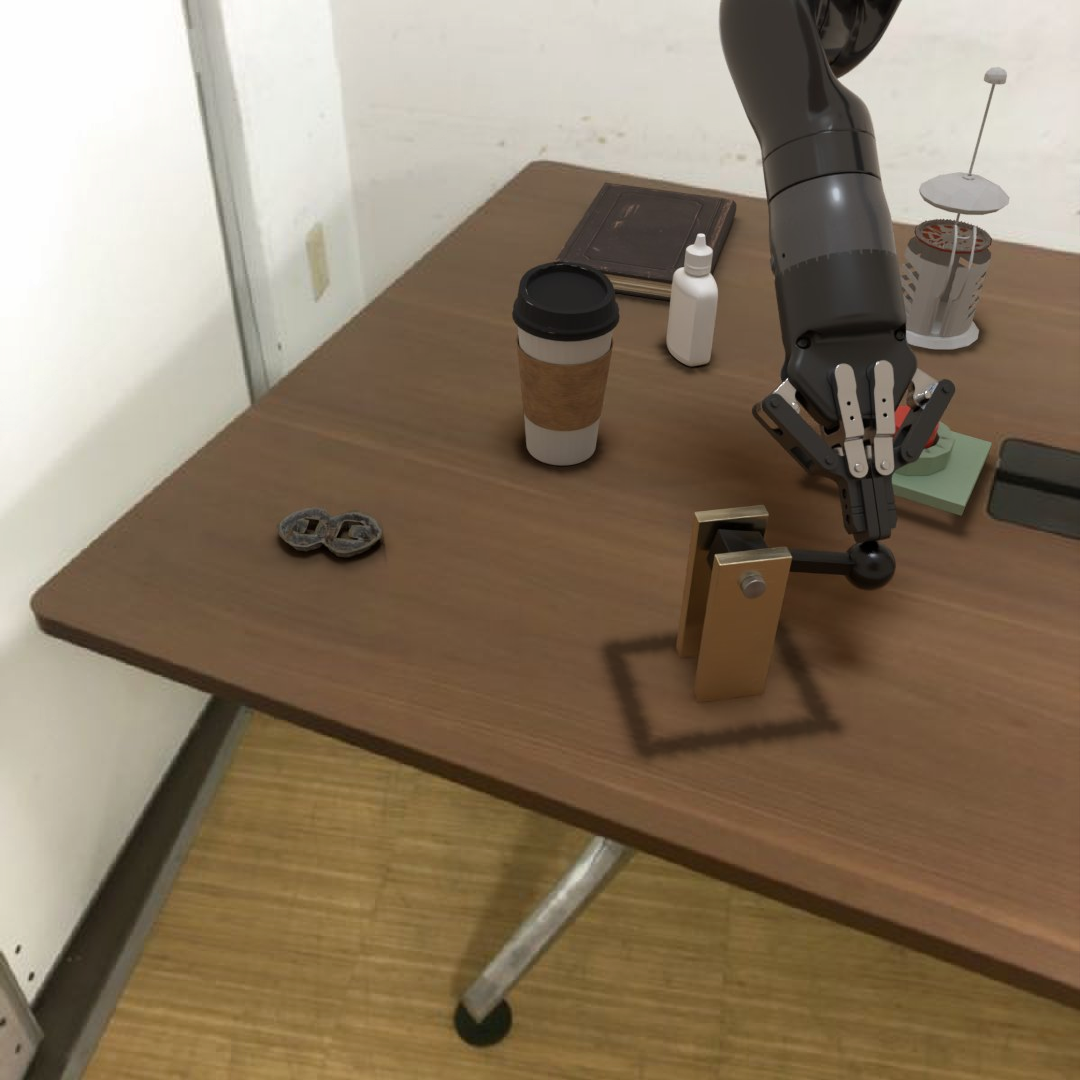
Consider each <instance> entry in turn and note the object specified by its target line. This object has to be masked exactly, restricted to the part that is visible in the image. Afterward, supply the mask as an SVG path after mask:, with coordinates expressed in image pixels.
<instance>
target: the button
mask: <svg viewBox="0 0 1080 1080" xmlns="http://www.w3.org/2000/svg"><path fill="white" fill-rule="evenodd" d="M909 410H910V407H909V406H907V405H899V406H898V408H897V410H896V411H895V413H894V414H895V427H896V430H895V434H894V436H893V439H894V437H895V435H896V433H897V432H898V430H899V428H900V426H901V424H902V423H903V421H904V419H905V417H906V415H907V414H908V412H909ZM938 427H939V422H938V424H937V426H936V428H935V430H934V431H933V433H932V435H931V437H930V439H929V440H928V442H927V444H926V446H925V448H924V449H927V448H929V447H931V446H932V445H933V443H934V441H935V437H936V434H937V430H938Z"/></svg>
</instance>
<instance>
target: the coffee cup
mask: <svg viewBox="0 0 1080 1080" xmlns="http://www.w3.org/2000/svg"><path fill="white" fill-rule="evenodd" d="M518 284H519V285H518V291H517V296H516V298H515V300H514V302H513V306H512V312H511V315H512V316H511V317H512V321H513V322H514V324H515V325H516V326H517V332H518V333H517V336H516V339H515V341H516V350H517V361H518V371H519V380H520V390H521V391H520V392H521V401H522V407H523V408H522V410H523V417H524V418H523V419H524V432H525V443H526V445H525V446H526V449H527V451H528V453H529V454H530V455H531V456H532V457H533V458H534V459H536V460H537V461H539V462H541V463H543V464H547V465H552V466H560V467H561V466H573V465H577V464H581V463H582V462H585V461H587V460H588V459H590V458H591V457H592V456H593V455H594V453H595V451H596V447H597V440H598V434H599V428H600V421H601V416H602V411H603V407H604V406H603V405H604V400H605V394H606V388H607V382H608V377H609V371H610V366H611V365H610V364H611V359H612V353H613V349H614V348H613V347H614V338H613V331H614V330H615V328H616V327H617V326H618V324H619V322H620V319H621V318H620V317H621V316H620V308H619V304H618V302H617V300H616V293H615V291H614V287H613V284H612V283H611V281H610V280H609V279H608V277H607V276H606V275H605V274H603V273H602V272H601V271H599V270H597V269H596V268H594V267H591V266H588V265H585V264H581V263H574V262H563V261H557V262H554V261H551V262H546V263H541V264H539V265H536V266H534V267H532V268H530V269H528V270H527V271H526V272H524V274H523V275H522V277H521V279H520V280H519V283H518Z"/></svg>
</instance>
